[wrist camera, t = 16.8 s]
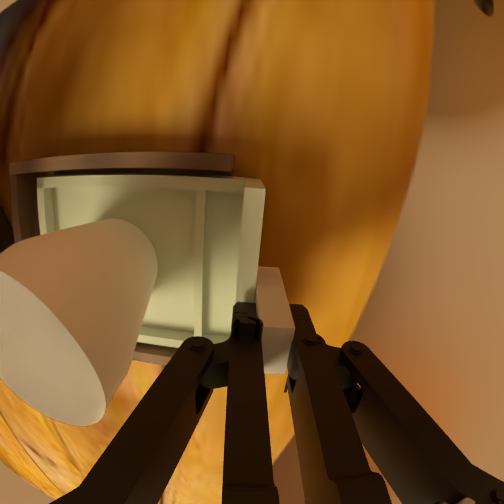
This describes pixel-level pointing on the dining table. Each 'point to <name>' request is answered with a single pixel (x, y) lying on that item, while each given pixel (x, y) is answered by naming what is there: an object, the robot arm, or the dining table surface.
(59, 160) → the dock
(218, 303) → the tray
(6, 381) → the cup
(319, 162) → the dining table surface
